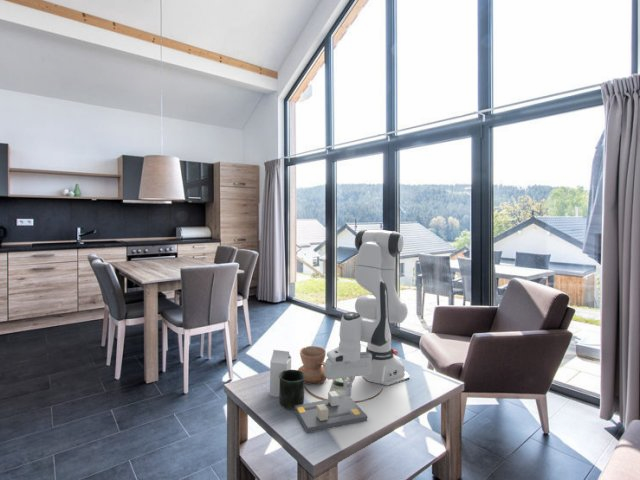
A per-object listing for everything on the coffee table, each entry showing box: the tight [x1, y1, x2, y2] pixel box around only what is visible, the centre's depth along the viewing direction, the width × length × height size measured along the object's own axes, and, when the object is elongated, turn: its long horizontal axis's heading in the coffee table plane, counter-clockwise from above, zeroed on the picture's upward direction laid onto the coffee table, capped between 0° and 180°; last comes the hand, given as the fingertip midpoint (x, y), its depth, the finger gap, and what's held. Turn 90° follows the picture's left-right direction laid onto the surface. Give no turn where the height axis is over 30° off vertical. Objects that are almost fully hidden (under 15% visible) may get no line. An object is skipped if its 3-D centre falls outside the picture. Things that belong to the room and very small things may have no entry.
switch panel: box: [293, 395, 368, 434], centre depth 146 cm, size 24×16×2 cm, turn 111°
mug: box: [278, 369, 306, 410], centre depth 155 cm, size 11×15×12 cm
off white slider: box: [327, 390, 340, 406], centre depth 151 cm, size 3×4×4 cm
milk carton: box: [269, 349, 292, 398], centre depth 162 cm, size 7×7×19 cm
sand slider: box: [316, 404, 328, 421], centre depth 140 cm, size 3×4×4 cm
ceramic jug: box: [297, 345, 327, 385], centre depth 175 cm, size 18×14×14 cm
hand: (347, 386), depth 152 cm, fingers closed
